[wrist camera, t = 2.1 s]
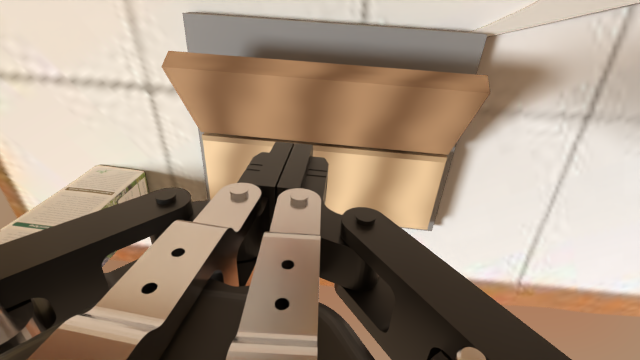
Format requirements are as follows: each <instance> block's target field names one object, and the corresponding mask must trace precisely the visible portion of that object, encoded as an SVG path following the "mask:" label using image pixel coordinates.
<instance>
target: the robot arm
mask: <svg viewBox="0 0 640 360" xmlns="http://www.w3.org/2000/svg"><path fill="white" fill-rule="evenodd" d="M328 167H329V164H328V162H327V161H326V159H325V158H323V157H313V145H310V144H299V143H295V144H294V143H287V142H275V144H274V145H273V147H272V149H271V151H270V153H268V152H261V153H259V154H258V155H256V156H254V157H253V158H252V160H251V161H250V163H249V165H248V166H247V168H246V170H245V171H244V173H243V174H242V176H241V177H240V179H239V181H238V182H237V183H234V184H230V185H227V186H225V187H223V188H221V189H220V190H219V191H218V192H217V194H216V195H215V196H214V197H213V198H212V199H211V200H207V201H196V202H192V201H191V195H190V193H189V192H188V191H186V190H184V189H181V188H165V189H160V190H157V191H154V192H151V193H148V194H145V195H142V196H139V197H137V198H134V199H131V200H128V201H125V202H122V203H119V204H116V205H113V206H111V207H108V208H105V209H102V210H99V211H96V212H93V213H90V214H87V215H84V216H82V217H79V218H76V219H73V220H70V221H67V222H64V223H61V224H58V225H56V226H53V227H50V228H47V229H44V230H41V231H38V232H35V233H32V234H29V235H27V236H24V237H21V238H18V239H15V240H12V241H9V242H6V243H3V244H1V245H0V360H375V359H374V358H373V356H372V355H371V354H370V352H369V351H368V350H367V348H366V347H365V345H364V344H363V343H362V341H361V340H360V339H359V337H358V336H357V335H356V333H355V332H354V330H353V329H352V328H351V327H350V325H349V324H348V323H347V322H346V321H345V320H344V319H343V318H342V317H341V316H340V315H339V314H337V313H336V312H335V311H334V310H332V309H331V308H329V307H327V306H326V305H324V304H322V303H319V302H318V299H319V277H320V278H323V279H325V280H328V281H330V282H333V283H335V284H334V287H335V291H336V293H337V294H338V295H339V297H340V298H341V299H342V300H343V301H344V303H345V304H346V305H347V306H348V308H349V309H350V310H351V311H352V312H353V314H354V315H355V316H356V317H357V318H358V320H359V321H360V322H361V323H362V324H363V326H364V327H365V328H366V329H367V331H368V332H369V333H370V334H371V335H372V337H373V338H374V339H375V340H376V341H377V343H378V344H379V345H380V346H381V347H382V349H383V350H384V351H385V352H386V353H387V355H388V356H389V357H390V358H391V359H392V360H571V359H570V358H569V357H567V356H566V355H565V354H564V353H562V352H561V351H560V350H558V349H557V348H556V347H555V346H553V345H552V344H551V343H549V342H548V341H547V340H545V339H544V338H543V337H542V336H540V335H539V334H538V333H536V332H535V331H534V330H532V329H531V328H530V327H528V326H527V325H526V324H525V323H523V322H522V321H521V320H520V319H518V318H517V317H516V316H514V315H513V314H512V313H510V312H509V311H508V310H507V309H505V308H504V307H503V306H501V305H500V304H499V303H497V302H496V301H495V300H494V299H492V298H491V297H490V296H488V295H487V294H486V293H485V292H483V291H482V290H481V289H479V288H478V287H477V286H475V285H474V284H473V283H472V282H470V281H469V280H468V279H466V278H465V277H464V276H463V275H461V274H460V273H459V272H457V271H456V270H455V269H453V268H452V267H451V266H450V265H448V264H447V263H446V262H444V261H443V260H442V259H440V258H439V257H438V256H437V255H435V254H434V253H433V252H431V251H430V250H429V249H428V248H426V247H425V246H424V245H422V244H421V243H420V242H418V241H417V240H416V239H415V238H413V237H412V236H411V235H409V234H408V233H407V232H405V231H404V230H403V229H402V228H400V227H399V226H398V225H396V224H395V223H394V222H393V221H391V220H390V219H389V218H387V217H386V216H385V215H383V214H382V213H381V212H379V211H377V210H374V209H371V208H367V207H355V208H351V209H349V210H347V211H345V212H344V213H343V215H341V214H338V213H336V212H334V211H332V210H330V209H329V208H328V207H326V205H325V201H326V193H327V180H328ZM147 237H150V238H151V242H152V245H151V246H150V248H149V249H148V250H147V251H146V252H145V253H144V254H143V255H142V256H141V257H140V258H139V259H138V260H135V261H133V262H131V263H129V264H127V265H125V266H122V267H120V268H118V269H116V270H114V271H112V272H109V273H103V270H102V262H103V260H104V259H105V258H106V257H107V256H108V255H109V254H111V253H113V252H115V251H117V250H119V249H122V248H124V247H126V246H129V245H131V244H133V243H136V242H138V241H140V240H143V239H145V238H147ZM33 298H34V299H33Z"/></svg>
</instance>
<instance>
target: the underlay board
mask: <svg viewBox="0 0 640 360" xmlns="http://www.w3.org/2000/svg"><path fill="white" fill-rule="evenodd" d="M183 20H184V27H185V35H186V42H187V49H188V52H189V53H202V54H215V55H228V56H241V57H254V58H267V59H280V60H293V61H306V62H319V63H332V64H345V65H358V66H371V67H384V68H397V69H410V70H423V71H436V72H449V73H462V74H475V75H476V73H477V70H478V66H479V63H480V59H481V56H482V52H483V49H484V45H485V41H486V38H487V34H485V33H476V32H464V31H450V30H436V29H421V28H407V27H392V26H378V25H364V24H349V23H335V22H320V21H306V20H292V19H277V18H263V17H248V16H234V15H220V14H205V13H191V12H188V13H183ZM198 130H199V138H200V145H201V152H202V160H203V167H204V174H205V182H206V189H207V196H208V200H210V192H209V185H208V177H207V169H206V162H205V154H204V147H203V140H202V134H203V133H204V132H201V131H200V129H199V128H198ZM456 144H457V142H456ZM456 144H455V145H454V147H453V148H452V150H451V151H450V153H449V154H448V155H446V154H445V155H446V156H447V160H446V163H445V167H444V170H443V174H442V178H441V181H440V185H439V188H438V192H437V196H436V199H435V203H434V207H433V210H432V214H431V218H430V221H429V225H428V229H427V231H432V228H433V225H434V221H435V218H436V214H437V211H438V207H439V204H440V200H441V197H442V193H443V190H444V186H445V183H446V179H447V176H448V172H449V168H450V165H451V161H452V158H453V154H454V151H455V147H456ZM400 228H405V227H400ZM408 229H414V228H408ZM417 230H424V229H417Z"/></svg>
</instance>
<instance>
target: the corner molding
mask: <svg viewBox="0 0 640 360" xmlns="http://www.w3.org/2000/svg"><path fill="white" fill-rule="evenodd" d="M635 3H640V0H538V1H536V2H535V3H533V4H531V5H529V6H527V7H525V8H523V9H521V10H519V11H517V12H515V13H513V14H510V15H508V16H506V17H504V18H502V19H500V20H497V21H495V22H493V23H491V24H489V25H486V26H484V27H481V28H479V29H476V30H473V31H471V32H476V33H485V34H487V37H489V36H493V35H498V34H502V33H507V32H511V31H516V30H520V29H525V28H529V27H533V26H538V25H542V24H547V23H551V22H556V21H560V20H564V19H569V18H573V17H578V16H582V15H587V14H591V13H595V12H600V11H604V10H609V9H613V8H618V7H622V6H626V5H631V4H635Z"/></svg>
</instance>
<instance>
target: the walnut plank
mask: <svg viewBox="0 0 640 360" xmlns="http://www.w3.org/2000/svg"><path fill="white" fill-rule="evenodd" d="M162 68H163V70H164V72H165V73H166V75H167V77H168V78H169V80H170V82H171V83H172V85H173V86H174V88H175V90H176V91H177V93H178V95H179V96H180V98H181V100H182V101H183V103H184V105H185V106H186V108H187V110H188V111H189V113H190V115H191V116H192V118H193V120H194V121H195V123H196V125H197V126H198V128H199V129H200V131H201V132H206V133H217V134H227V135H238V136H249V137H260V138H271V139H282V140H293V141H304V142H315V143H326V144H337V145H347V146H358V147H369V148H380V149H391V150H402V151H413V152H424V153H435V154H446V155H448V154H449V153H450V151H451V150H452V148H453V147H454V145H455V144H456V142H457V141H458V140H459V138H460V137H461V135H462V134H463V132H464V131H465V129H466V128H467V126H468V125H469V123H470V122H471V120H472V119H473V118H474V116H475V115H476V113H477V112H478V110H479V109H480V107H481V106H482V104H483V103H484V101H485V100H486V98H487V97H488V96H489V94H490V89H489V81H488V75H475V74H462V73H449V72H436V71H423V70H410V69H397V68H384V67H371V66H358V65H345V64H332V63H319V62H306V61H293V60H280V59H267V58H254V57H241V56H228V55H215V54H202V53H189V52H176V51H168V53H167V55H166V58H165V60H164V63H163V65H162Z"/></svg>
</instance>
